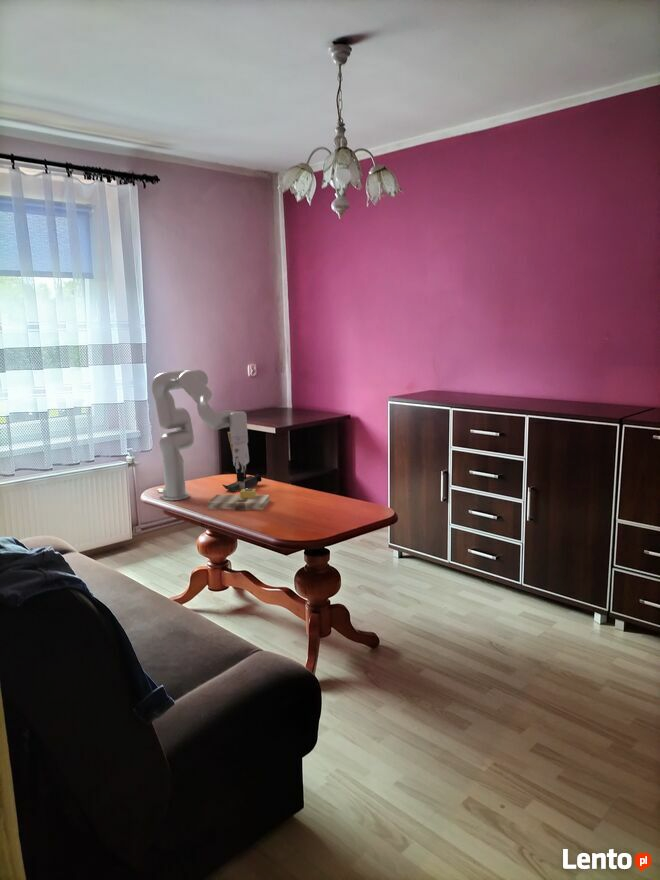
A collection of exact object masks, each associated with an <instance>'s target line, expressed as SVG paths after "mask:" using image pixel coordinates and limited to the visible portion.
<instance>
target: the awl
mask: <svg viewBox="0 0 660 880" xmlns="http://www.w3.org/2000/svg"><path fill="white" fill-rule="evenodd" d="M239 466H241V464H239ZM240 468H241V467H240ZM245 471H246V470H245V468H244V466H243V472H244V477H245ZM239 483H240V489H243V488H245V483H244V481H243V482H239Z"/></svg>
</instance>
